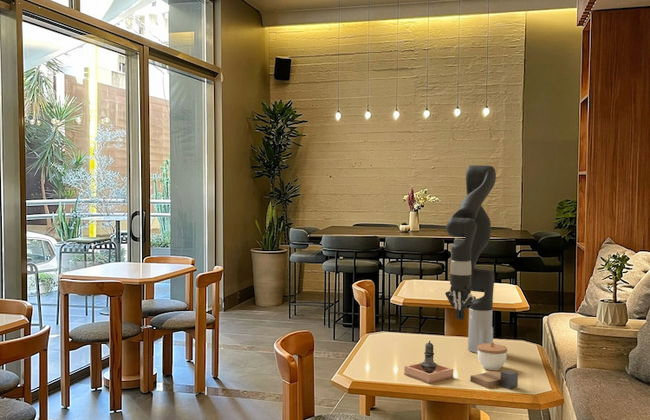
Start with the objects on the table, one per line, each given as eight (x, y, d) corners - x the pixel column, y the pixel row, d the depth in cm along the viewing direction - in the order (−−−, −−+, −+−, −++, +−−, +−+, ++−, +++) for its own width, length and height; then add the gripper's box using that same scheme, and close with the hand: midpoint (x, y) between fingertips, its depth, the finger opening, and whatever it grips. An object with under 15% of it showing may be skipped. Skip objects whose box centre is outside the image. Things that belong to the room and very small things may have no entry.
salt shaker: (425, 377, 220) (426, 343, 220) (417, 372, 226) (418, 339, 225) (440, 375, 222) (441, 341, 222) (431, 371, 228) (432, 337, 227)
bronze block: (495, 377, 225) (495, 370, 225) (512, 384, 218) (512, 376, 218) (470, 382, 219) (470, 375, 218) (487, 389, 212) (487, 382, 212)
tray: (428, 368, 232) (428, 360, 232) (453, 377, 223) (453, 368, 222) (404, 374, 225) (404, 366, 225) (429, 383, 215) (429, 374, 215)
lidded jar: (501, 373, 228) (502, 348, 227) (472, 368, 234) (473, 343, 233) (510, 366, 237) (510, 341, 236) (482, 361, 243) (482, 337, 242)
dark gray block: (507, 384, 216) (508, 369, 216) (517, 387, 213) (518, 372, 213) (500, 386, 214) (500, 371, 214) (510, 389, 211) (510, 374, 210)
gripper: (482, 274, 228) (480, 321, 229) (453, 269, 238) (452, 314, 240) (468, 276, 223) (467, 324, 225) (440, 271, 234) (439, 317, 235)
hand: (459, 319), depth 232 cm, fingers closed
